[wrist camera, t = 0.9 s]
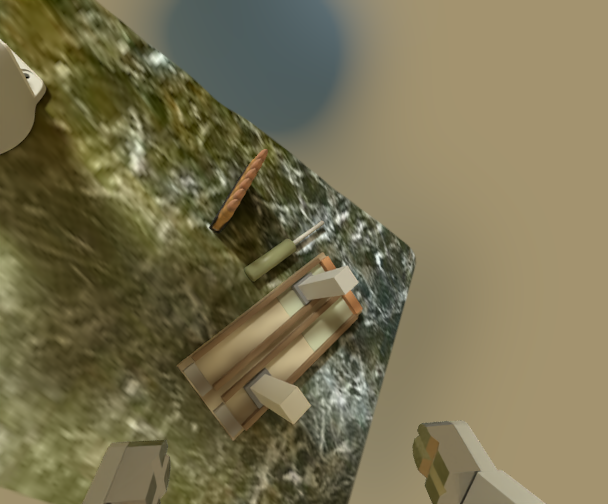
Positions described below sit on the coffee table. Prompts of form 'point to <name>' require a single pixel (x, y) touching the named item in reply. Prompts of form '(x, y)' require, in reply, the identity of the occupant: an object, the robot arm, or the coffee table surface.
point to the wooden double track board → (267, 347)
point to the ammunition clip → (238, 193)
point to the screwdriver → (275, 256)
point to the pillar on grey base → (325, 284)
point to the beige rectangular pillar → (277, 396)
